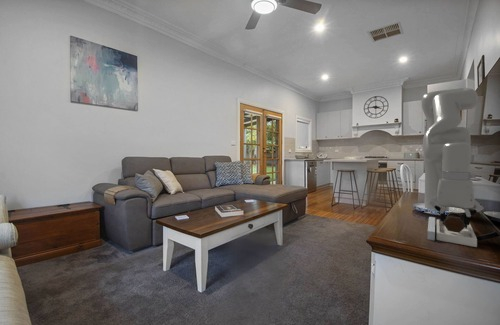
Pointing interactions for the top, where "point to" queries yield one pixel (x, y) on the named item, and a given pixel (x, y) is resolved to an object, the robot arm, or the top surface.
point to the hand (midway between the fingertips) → (454, 224)
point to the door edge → (431, 228)
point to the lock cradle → (456, 235)
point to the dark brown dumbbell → (454, 222)
